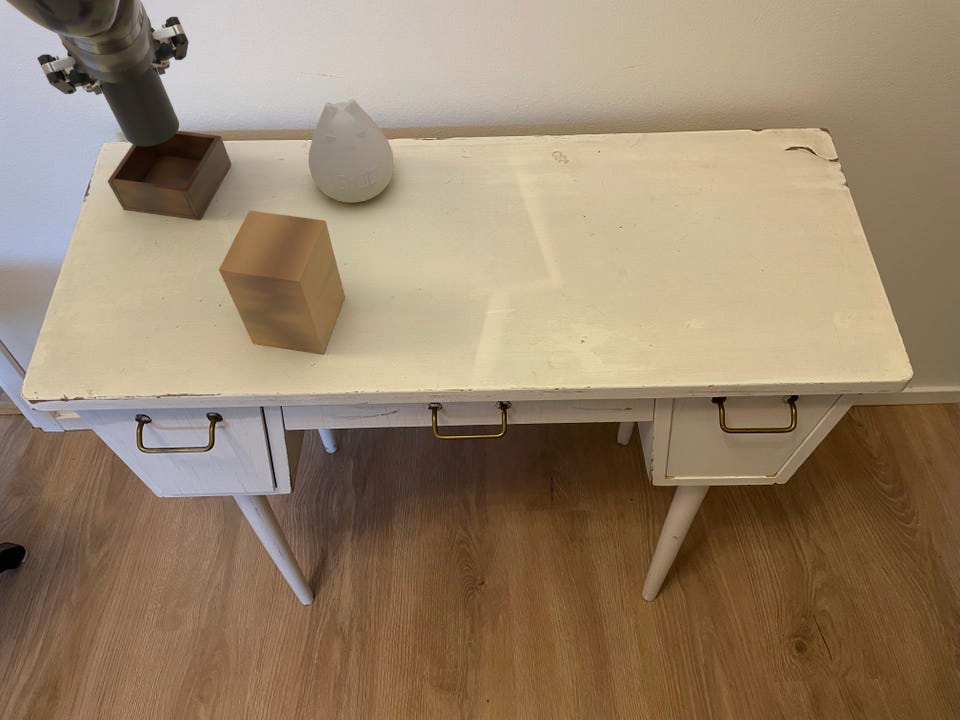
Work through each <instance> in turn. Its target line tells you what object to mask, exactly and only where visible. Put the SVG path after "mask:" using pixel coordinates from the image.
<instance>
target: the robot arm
mask: <svg viewBox="0 0 960 720" xmlns="http://www.w3.org/2000/svg"><path fill="white" fill-rule="evenodd" d="M5 1H6V3H8V4H9V5H10V6H12V7H13V8H14V9H16V10H17V11H18V12H19V13H21V14H22V15H24V16H25V17H26V18H28V19H29V20H31V21H32V22H34V23H35V24H37V25H38V26H40V27H42V28H44V29H46V30H48V31H50V32H52V33H54V34H57V37H59V39H60V40H61V45H62V46H63V47H64V49H65V50H66V51H67V52H66V55H67V56H66V57H61V58H60V57H59V56H58V55H55V56H53V55H51V54H48V53H47V54H44V53H43V54H41V55H39V56H37V58H36V60H37V61H38V64H39V65H40V67H41V69H42V71H43V73H44V75H45V77H46V79H47V81H48V83H49V85H51V86H52V87H54V88H55V89H56V90H58V91H60V92H61V93H63V94H64V95H73V94H74V93H76V92H77V91H78V90H77V88H78V87H79V88H80V87H81V88H82V90H83V91H85V92H86V93H90V94H91V93H93V92H94V94H95V95H96V96H97V95H99V96H100V95H103V92H102V90H101V88H100V86H99V85H102V84H105V83H106V82H111V83H124V82H129V81H132V80H134V79H136V78H138V77H140V76H141V75H142V74H144V73H145V72H146V70H147V69H150V70H151V69H154V68H156V69H157V71H158V74H159V76H162V75H165V74H166V70H167V69H169V68H170V67H171V66H170V65H171V62H170V59H173V58H174V60H175V61H182V60H184V59H186V57H187V54H188V47H189V44H190V43H189V42H190V41H189V39H188V36H187V35H186V32H185V30H184V28H183V25H182V23H181V21H180V19H179V17H178V16H170V17H168V18H167V19H165V23H163V24H161V28H160V29H155V28H154V27H152V22H151V19H150V17H149V16H148V14H147V11H146V8H145V6H144V4H143V2H142V1H141V0H5Z"/></svg>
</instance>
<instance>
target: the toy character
mask: <svg viewBox="0 0 960 720" xmlns="http://www.w3.org/2000/svg"><path fill="white" fill-rule="evenodd" d="M317 121H318V122H317V123H316V126H315V129H314V132H313V135H312V138H311V142H310V146H309V150H308V168H309V172H310V174H311V178H312V180H313V181H314V183H315V184H316V186H317V187H318V188H319V190H320V191H321V192H322V193H323V194H324V195H326V196H327V197H329V198H331V199H334V200H335V201H339V202H341V203H342V202H343V203H351V204H352V203H361V202H366V201H368V200H372V199H373V198H375V197H376V196H378V195H379V194H380V193H382V192H383V191H384V190H385V188H387V186H388V185H389V183H390V182H391V180H392V176H393V172H394V167H395V162H394V152H393V150H392V146H391V145H390V142H389V140H388V138H387V137H386V136H385V134H384V133H383V132H382V130H381V129H380V127H379V126H378V124H377V123H376V121H374V119H373V118H372V117H371V116H370V115H369V114H368V113H367V112H366V111H365V110H364V109H363V108H362V107H361V106H360V105H359V104H358V102H357V101H356V100H355V98H351V99H349V100H348V101H347V102H346V101H345V102H336V103H334V104H333V103H331V102H329V101H328V102H325V103H324V107H323V109H322V112H321V115H320V117H319V120H317Z"/></svg>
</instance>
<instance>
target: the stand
mask: <svg viewBox="0 0 960 720" xmlns="http://www.w3.org/2000/svg"><path fill="white" fill-rule="evenodd" d="M218 272H219V274H220V276H221V279H222V280H223V282H224V285H225V286H226V288H227V291H228V293H229V296H230V298H231V300H232V301H233V304H234V306H235V308H236V310H237V313H238V314H239V317H240V319H241V321H242V323H243V325H244V327H245V330H246V332H247V334H248V336H249V338H250V340H251V343H252V344H254V345H261V346H267V347H275V348H280V349H287V350H294V351H299V352H305V353H313V354H319V355H324V354H325V352H326V350H327V347H328V344H329V342H330V339H331V336H332V334H333V331H334V329H335V325H336V322H337V320H338V317H339V315H340V312H341V309H342V307H343V305H344V304H343V303H344V302H345V299H346V295H345V291H344V287H343V286H344V285H343V283H342V279H341V276H340V271H339V268H338V264H337V260H336V255H335V253H334V248H333V244H332V241H331V237H330V233H329V229H328V224H327V221H326V219H325V220H323V219H317V218H310V217H309V218H308V217H302V216H295V215H286V214H279V213H272V212H266V211H265V212H264V211H257V210H248V212H247V214H246V216H245V218H244V219H243V222H242V224H241V226H240V228H239V229H238V231H237V233H236V235H235V238H234V240H233V242H232V243H231V245H230V247H229V249H228V251H227V253H226V255H225V257H224V258H223V261H222V263H221V264H220V266H219V268H218Z"/></svg>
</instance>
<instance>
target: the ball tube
mask: <svg viewBox="0 0 960 720" xmlns="http://www.w3.org/2000/svg"><path fill="white" fill-rule="evenodd" d="M99 87H100V89H101V91H102V95H103V96H104V98H105V100H106V102H107V104H108V106H109V108H110V110H111V112H112V114H113V116H114V118H115V119H116V120H115V121H116V122H117V124H118V125H119V128H120V129H121V132H122V134H123V135H124V138H125V139H126V140H127V141H128V142H129V143H130V144H131V145H133V144H134V145H137V146H154V145H158V144H161V143H163V142H165V141H167V140H169V139H170V138H172V137H173V136H174V135H175V134H176V132H177V131H179V130H180V129H179V128H180V120H179V119H178V116H177V114H176V112H175V109H174V106H173V105H172V104H173V103H172V102H171V100H170V97H169V95H168V92H167V90H166V88H165V86H164V83H163V80H162V79H161V75H159V73H158V71H157V69H156V68H154V69H151V70H150V69H147V70H146V72H145V73H144V74H142V75H141V76H140V77H138V78H136V79H134V80H132V81H129V82H124V83H111V82H106V83H105V84H102V85H99Z"/></svg>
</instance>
